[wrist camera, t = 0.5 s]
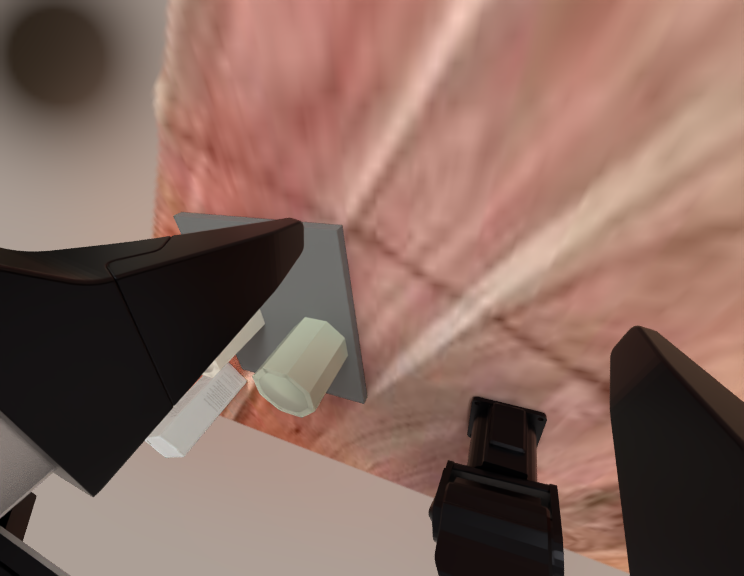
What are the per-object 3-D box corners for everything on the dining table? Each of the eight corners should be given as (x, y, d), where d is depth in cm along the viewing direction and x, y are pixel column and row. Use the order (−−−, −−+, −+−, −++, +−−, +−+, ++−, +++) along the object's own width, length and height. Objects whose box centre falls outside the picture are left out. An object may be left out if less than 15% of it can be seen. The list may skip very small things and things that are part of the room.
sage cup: (350, 366, 35) (318, 423, 29) (302, 355, 37) (264, 405, 32) (342, 324, 31) (305, 379, 26) (290, 314, 33) (246, 362, 28)
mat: (367, 397, 39) (364, 403, 38) (247, 363, 45) (242, 369, 44) (342, 225, 26) (336, 230, 25) (181, 212, 32) (173, 215, 32)
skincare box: (229, 386, 51) (165, 458, 42) (210, 368, 50) (140, 437, 41) (249, 381, 48) (184, 458, 39) (229, 361, 46) (157, 435, 37)
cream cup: (269, 335, 37) (226, 382, 32) (228, 326, 39) (182, 368, 34) (254, 292, 34) (203, 337, 28) (210, 284, 36) (155, 325, 31)
